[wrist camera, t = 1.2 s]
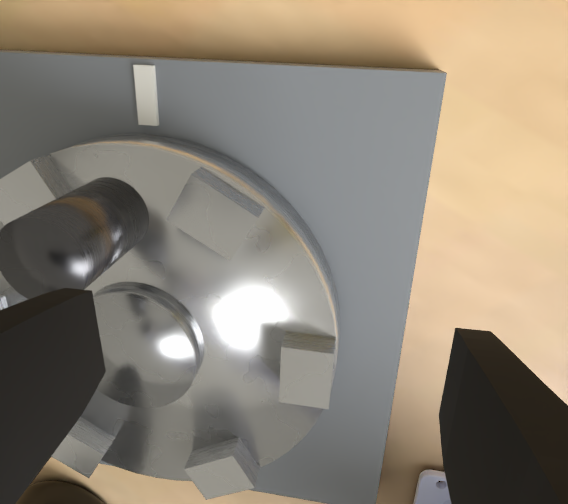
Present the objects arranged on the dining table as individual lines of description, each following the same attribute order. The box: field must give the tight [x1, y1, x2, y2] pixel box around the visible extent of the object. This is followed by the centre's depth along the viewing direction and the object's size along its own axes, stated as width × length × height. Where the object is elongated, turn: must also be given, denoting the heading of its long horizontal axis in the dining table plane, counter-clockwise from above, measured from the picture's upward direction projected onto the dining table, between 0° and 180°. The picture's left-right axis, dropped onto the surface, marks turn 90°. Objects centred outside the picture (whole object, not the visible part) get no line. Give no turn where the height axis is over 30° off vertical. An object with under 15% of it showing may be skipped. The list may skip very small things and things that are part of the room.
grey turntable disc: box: [0, 134, 340, 500], centre depth 17 cm, size 15×15×7 cm
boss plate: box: [0, 50, 447, 504], centre depth 21 cm, size 20×20×2 cm
